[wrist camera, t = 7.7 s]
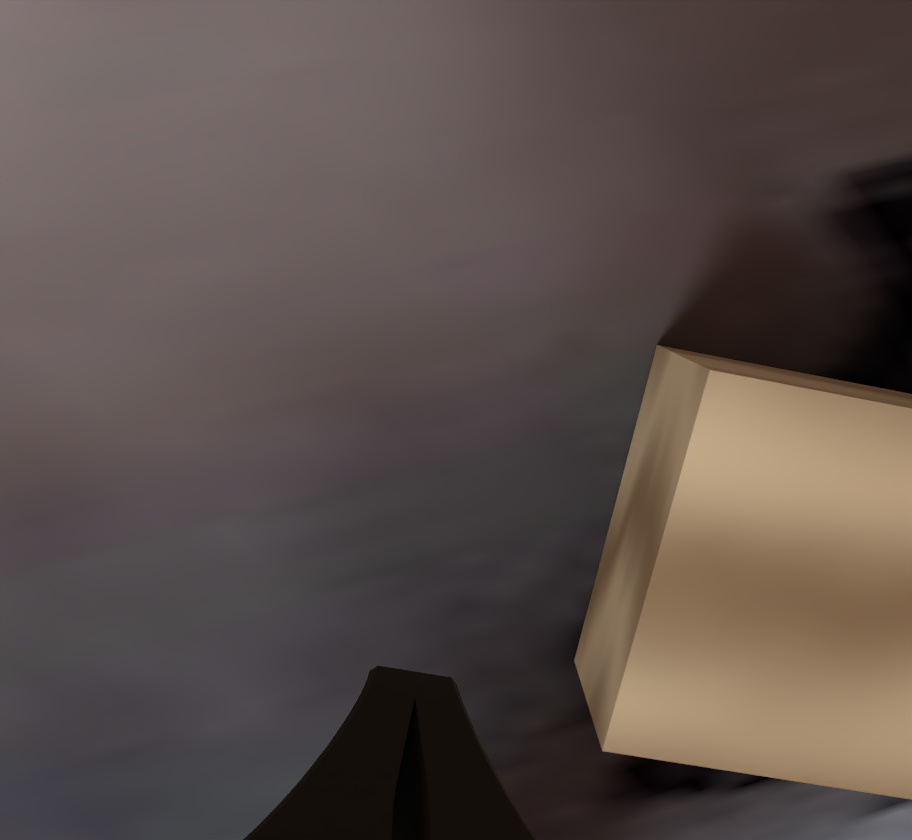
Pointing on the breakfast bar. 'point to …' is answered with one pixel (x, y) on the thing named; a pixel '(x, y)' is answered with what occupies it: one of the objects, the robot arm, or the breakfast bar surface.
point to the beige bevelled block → (759, 579)
